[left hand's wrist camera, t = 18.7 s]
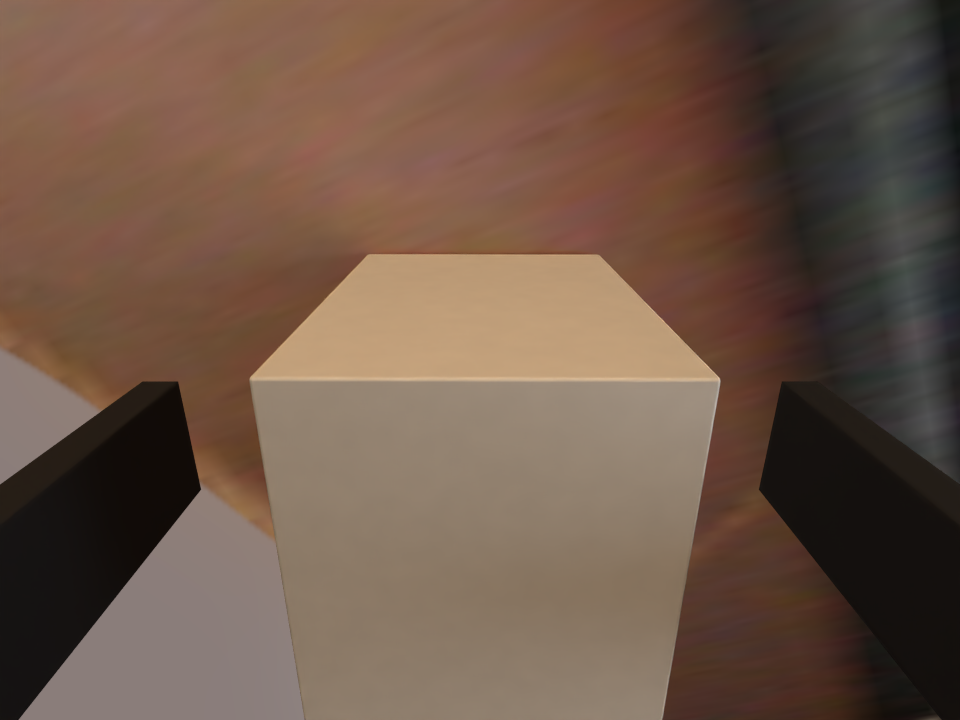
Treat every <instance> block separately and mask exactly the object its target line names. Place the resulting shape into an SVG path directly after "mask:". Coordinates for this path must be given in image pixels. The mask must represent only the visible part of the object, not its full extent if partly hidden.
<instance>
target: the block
mask: <svg viewBox="0 0 960 720" xmlns="http://www.w3.org/2000/svg"><path fill="white" fill-rule="evenodd" d="M250 387H251V393H252V399H253V405H254V412H255V418H256V424H257V430H258V436H259V442H260V448H261V454H262V461H263V467H264V473H265V479H266V485H267V491H268V497H269V504H270V510H271V516H272V522H273V528H274V534H275V540H276V547H277V553H278V559H279V565H280V571H281V577H282V583H283V589H284V596H285V602H286V608H287V614H288V620H289V626H290V632H291V639H292V645H293V651H294V657H295V663H296V669H297V675H298V681H299V688H300V694H301V700H302V706H303V712H304V718H305V720H662V718H663V712H664V706H665V701H666V695H667V689H668V683H669V677H670V672H671V666H672V660H673V654H674V648H675V642H676V637H677V631H678V625H679V619H680V613H681V608H682V602H683V596H684V590H685V584H686V579H687V573H688V567H689V561H690V555H691V550H692V544H693V538H694V532H695V526H696V520H697V515H698V509H699V503H700V497H701V491H702V486H703V480H704V474H705V468H706V462H707V457H708V451H709V445H710V439H711V433H712V428H713V422H714V416H715V410H716V404H717V398H718V393H719V387H720V378H719V377H718V376H717V375H716V374H715V373H714V372H713V371H712V370H711V369H710V368H709V367H708V366H707V365H706V364H705V363H704V362H703V361H702V360H701V359H700V358H699V357H698V356H697V355H696V354H695V353H694V352H693V351H692V350H691V349H690V348H689V347H688V345H687V344H686V343H685V342H684V341H683V340H682V339H681V338H680V337H679V336H678V335H677V334H676V333H675V332H674V331H673V330H672V329H671V328H670V327H669V326H668V325H667V324H666V323H665V322H664V321H663V320H662V319H661V318H660V317H659V316H658V315H657V314H656V313H655V312H654V311H653V310H652V309H651V308H650V307H649V306H648V305H647V304H646V303H645V302H644V301H643V299H642V298H641V297H640V296H639V295H638V294H637V293H636V292H635V291H634V290H633V289H632V288H631V287H630V286H629V285H628V284H627V283H626V282H625V281H624V280H623V279H622V278H621V277H620V276H619V275H618V274H617V273H616V272H615V271H614V270H613V269H612V268H611V267H610V266H609V265H608V264H607V263H606V262H605V261H604V260H603V259H602V258H601V257H600V256H599V255H547V254H368V255H367V256H366V257H365V258H364V259H363V260H362V261H361V262H360V263H359V264H358V265H357V266H356V268H355V269H354V270H353V271H352V272H351V273H350V274H349V275H348V276H347V277H346V278H345V279H344V280H343V281H342V282H341V283H340V284H339V285H338V286H337V287H336V288H335V289H334V290H333V292H332V293H331V294H330V295H329V296H328V297H327V298H326V299H325V300H324V301H323V302H322V303H321V304H320V305H319V306H318V307H317V308H316V309H315V310H314V311H313V312H312V313H311V314H310V315H309V317H308V318H307V319H306V320H305V321H304V322H303V323H302V324H301V325H300V326H299V327H298V328H297V329H296V330H295V331H294V332H293V333H292V334H291V335H290V336H289V337H288V338H287V339H286V340H285V342H284V343H283V344H282V345H281V346H280V347H279V348H278V349H277V350H276V351H275V352H274V353H273V354H272V355H271V356H270V357H269V358H268V359H267V360H266V361H265V362H264V363H263V364H262V366H261V367H260V368H259V369H258V370H257V371H256V372H255V373H254V374H253V375H252V376H251V377H250Z"/></svg>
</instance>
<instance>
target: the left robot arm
mask: <svg viewBox="0 0 960 720" xmlns="http://www.w3.org/2000/svg"><path fill="white" fill-rule="evenodd" d="M200 490H201V487H200V483H199V478H198V473H197V469H196V464H195V459H194V454H193V450H192V445H191V440H190V436H189V431H188V426H187V422H186V417H185V412H184V408H183V403H182V398H181V393H180V389H179V384H178V382H141V383H140V384H139V385H137V386H136V387H134V388H133V389H132V390H130V391H129V392H128V393H126V394H125V395H123V396H122V397H121V398H119V399H118V400H117V401H115V402H114V403H112V404H111V405H110V406H108V407H107V408H105V409H104V410H103V411H101V412H100V413H99V414H97V415H96V416H94V417H93V418H92V419H90V420H89V421H87V422H86V423H85V424H83V425H82V426H81V427H79V428H78V429H76V430H75V431H74V432H72V433H71V434H70V435H68V436H67V437H65V438H64V439H63V440H61V441H60V442H58V443H57V444H56V445H54V446H53V447H52V448H50V449H49V450H47V451H46V452H45V453H43V454H42V455H40V456H39V457H38V458H36V459H35V460H34V461H32V462H31V463H29V464H28V465H27V466H25V467H24V468H22V469H21V470H20V471H18V472H17V473H16V474H14V475H13V476H11V477H10V478H9V479H7V480H6V481H4V482H3V483H2V484H0V720H19V718H20V717H21V716H22V715H23V713H24V712H25V711H26V710H27V708H28V707H29V706H30V705H31V703H32V702H33V701H34V699H35V698H36V697H37V696H38V694H39V693H40V692H41V691H42V689H43V688H44V687H45V686H46V684H47V683H48V682H49V681H50V679H51V678H52V677H53V676H54V674H55V673H56V672H57V670H58V669H59V668H60V667H61V665H62V664H63V663H64V662H65V660H66V659H67V658H68V657H69V655H70V654H71V653H72V652H73V650H74V649H75V648H76V647H77V645H78V644H79V643H80V641H81V640H82V639H83V638H84V636H85V635H86V634H87V633H88V631H89V630H90V629H91V628H92V626H93V625H94V624H95V623H96V621H97V620H98V619H99V618H100V616H101V615H102V614H103V612H104V611H105V610H106V609H107V607H108V606H109V605H110V604H111V602H112V601H113V600H114V599H115V597H116V596H117V595H118V594H119V592H120V591H121V590H122V589H123V587H124V586H125V585H126V583H127V582H128V581H129V580H130V578H131V577H132V576H133V575H134V573H135V572H136V571H137V570H138V568H139V567H140V566H141V565H142V563H143V562H144V561H145V559H146V558H147V557H148V556H149V554H150V553H151V552H152V551H153V549H154V548H155V547H156V546H157V544H158V543H159V542H160V541H161V539H162V538H163V537H164V536H165V534H166V533H167V532H168V531H169V529H170V528H171V527H172V525H173V524H174V523H175V522H176V520H177V519H178V518H179V517H180V515H181V514H182V513H183V512H184V510H185V509H186V508H187V507H188V505H189V504H190V503H191V502H192V500H193V499H194V498H195V496H196V495H197V494H198V493H199V491H200ZM759 490H760V491H761V493H762V494H763V495H764V496H765V498H766V499H767V500H768V501H769V503H770V504H771V505H772V507H773V508H774V509H775V510H776V512H777V513H778V514H779V515H780V517H781V518H782V519H783V520H784V522H785V523H786V524H787V525H788V527H789V528H790V529H791V530H792V532H793V533H794V534H795V536H796V537H797V538H798V539H799V541H800V542H801V543H802V544H803V546H804V547H805V548H806V549H807V551H808V552H809V553H810V554H811V556H812V557H813V558H814V559H815V561H816V562H817V563H818V565H819V566H820V567H821V568H822V570H823V571H824V572H825V573H826V575H827V576H828V577H829V578H830V580H831V581H832V582H833V583H834V585H835V586H836V587H837V589H838V590H839V591H840V592H841V594H842V595H843V596H844V597H845V599H846V600H847V601H848V602H849V604H850V605H851V606H852V607H853V609H854V610H855V611H856V612H857V614H858V615H859V616H860V618H861V619H862V620H863V621H864V623H865V624H866V625H867V626H868V628H869V629H870V630H871V631H872V633H873V634H874V635H875V636H876V638H877V639H878V640H879V641H880V643H881V644H882V645H883V647H884V648H885V649H886V650H887V652H888V653H889V654H890V655H891V657H892V658H893V659H894V660H895V662H896V663H897V664H898V665H899V667H900V668H901V669H902V670H903V672H904V673H905V674H906V676H907V677H908V678H909V679H910V681H911V682H912V683H913V684H914V686H915V687H916V688H917V689H918V691H919V692H920V693H921V694H922V696H923V697H924V698H925V699H926V701H927V702H928V703H929V705H930V706H931V707H932V708H933V710H934V711H935V712H936V713H937V715H938V716H939V717H940V718H941V720H960V484H958V483H957V482H956V481H954V480H953V479H951V478H950V477H949V476H947V475H946V474H945V473H943V472H942V471H940V470H939V469H938V468H936V467H935V466H933V465H932V464H931V463H929V462H928V461H927V460H925V459H924V458H922V457H921V456H920V455H918V454H917V453H915V452H914V451H913V450H911V449H910V448H909V447H907V446H906V445H904V444H903V443H902V442H900V441H899V440H897V439H896V438H895V437H893V436H892V435H891V434H889V433H888V432H886V431H885V430H884V429H882V428H881V427H879V426H878V425H877V424H875V423H874V422H873V421H871V420H870V419H868V418H867V417H866V416H864V415H863V414H862V413H860V412H859V411H857V410H856V409H855V408H853V407H852V406H850V405H849V404H848V403H846V402H845V401H844V400H842V399H841V398H839V397H838V396H837V395H835V394H834V393H832V392H831V391H830V390H828V389H827V388H826V387H824V386H823V385H821V384H820V383H819V382H782V384H781V389H780V394H779V398H778V403H777V408H776V412H775V417H774V422H773V426H772V431H771V436H770V441H769V445H768V450H767V455H766V459H765V464H764V469H763V473H762V478H761V483H760V487H759Z"/></svg>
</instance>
